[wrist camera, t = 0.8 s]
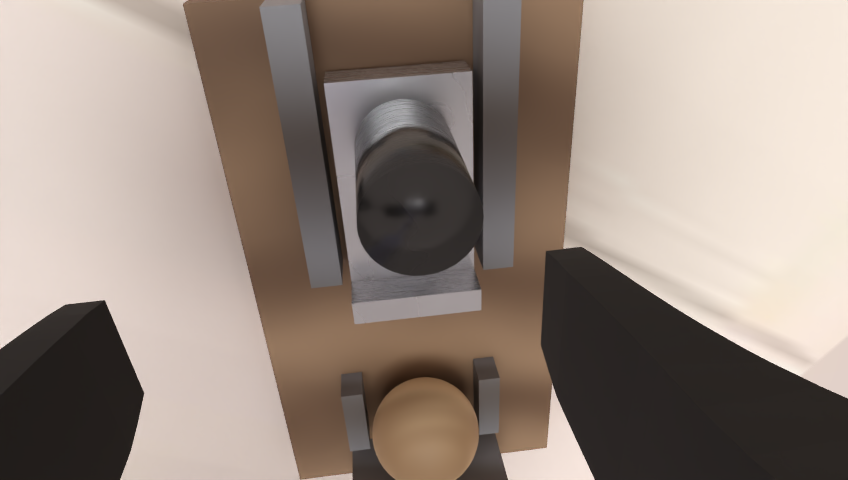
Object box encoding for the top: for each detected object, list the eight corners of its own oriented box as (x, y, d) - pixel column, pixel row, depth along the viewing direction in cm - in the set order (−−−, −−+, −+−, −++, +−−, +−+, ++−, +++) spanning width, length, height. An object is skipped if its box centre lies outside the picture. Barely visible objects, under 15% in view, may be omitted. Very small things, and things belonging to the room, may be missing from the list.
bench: (540, 430, 27) (572, 518, 23) (301, 460, 26) (293, 556, 22) (573, -29, 17) (639, -8, 13) (191, -2, 16) (143, 29, 13)
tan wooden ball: (469, 421, 25) (488, 505, 21) (375, 433, 25) (379, 520, 21) (467, 349, 23) (489, 429, 19) (365, 361, 23) (368, 445, 19)
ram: (467, 268, 20) (505, 385, 16) (353, 280, 20) (355, 403, 15) (464, 60, 17) (512, 127, 12) (325, 71, 17) (315, 145, 12)
